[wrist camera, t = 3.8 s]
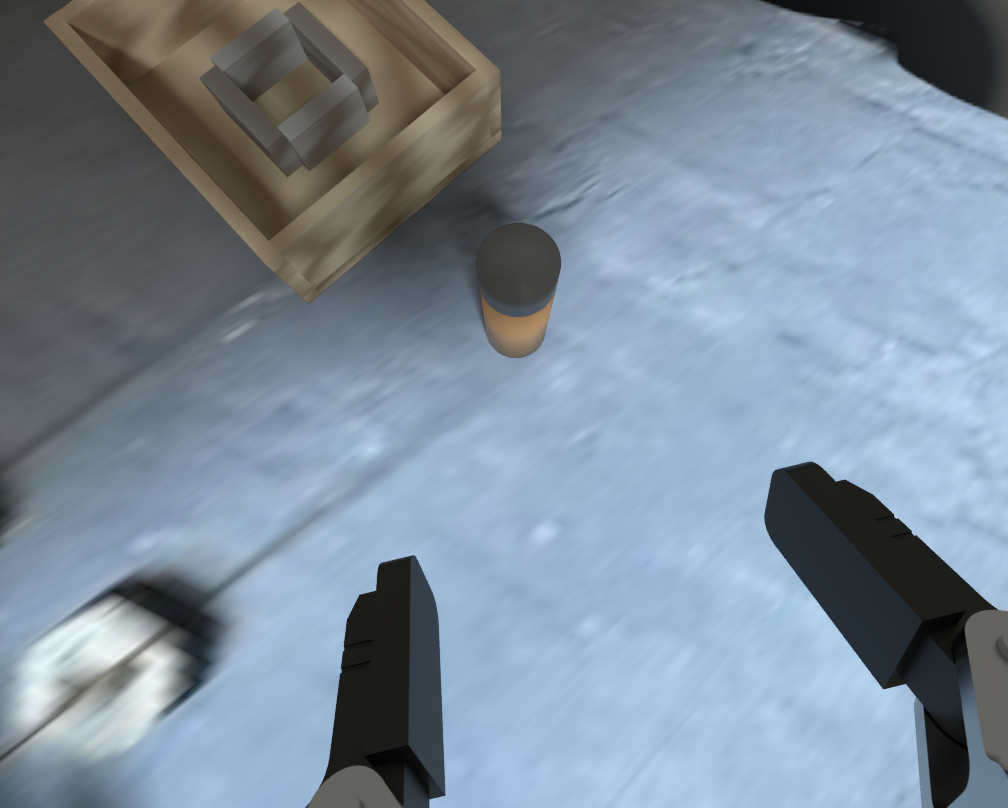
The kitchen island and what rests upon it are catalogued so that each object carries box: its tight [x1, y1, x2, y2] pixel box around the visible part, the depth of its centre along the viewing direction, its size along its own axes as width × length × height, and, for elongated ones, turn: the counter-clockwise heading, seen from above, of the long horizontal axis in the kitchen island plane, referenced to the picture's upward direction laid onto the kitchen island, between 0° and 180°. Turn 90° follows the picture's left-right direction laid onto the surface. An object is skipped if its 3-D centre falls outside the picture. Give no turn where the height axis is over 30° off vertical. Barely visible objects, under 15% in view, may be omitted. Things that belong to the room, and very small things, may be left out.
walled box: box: [43, 0, 501, 303], centre depth 33 cm, size 18×22×6 cm
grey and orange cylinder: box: [476, 223, 561, 358], centre depth 28 cm, size 4×4×10 cm
